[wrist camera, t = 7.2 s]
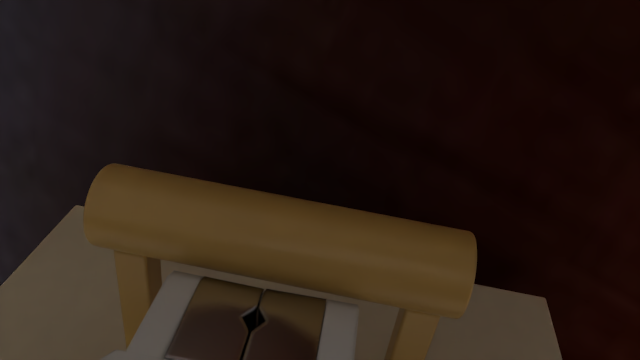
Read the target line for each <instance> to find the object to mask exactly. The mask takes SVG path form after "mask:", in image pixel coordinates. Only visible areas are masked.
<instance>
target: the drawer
mask: <svg viewBox="0 0 640 360" xmlns="http://www.w3.org/2000/svg"><path fill="white" fill-rule="evenodd" d="M476 267H477V245H476V239H475V236H474V234H473V233H472V232H470V231H465V230H460V229H455V228H450V227H445V226H439V225H434V224H429V223H424V222H418V221H413V220H408V219H403V218H398V217H392V216H387V215H382V214H377V213H372V212H366V211H361V210H356V209H351V208H346V207H340V206H335V205H330V204H325V203H319V202H314V201H309V200H304V199H299V198H293V197H288V196H283V195H278V194H273V193H267V192H262V191H257V190H252V189H246V188H241V187H236V186H231V185H226V184H220V183H215V182H210V181H205V180H200V179H194V178H189V177H184V176H179V175H174V174H168V173H163V172H158V171H153V170H147V169H142V168H137V167H132V166H127V165H121V164H116V163H113V164H109V165H107V166H105V167H104V168H103V169H102V170H101V171H100V172H99V173H98V174H97V176H96V177H95V179H94V181H93V182H92V184H91V187H90V189H89V192H88V195H87V198H86V202H85V207H83V206H78V205H76V206H74V207H73V208H72V210H71V211H70V212H69V213H68V214H67V215H66V216H65V217H64V218H63V219H62V220H61V221H60V223H59V224H58V225H57V226H56V227H55V228H54V229H53V230H52V231H51V232H50V233H49V234H48V235H47V237H46V238H45V239H44V240H43V241H42V242H41V243H40V244H39V245H38V246H37V247H36V248H35V250H34V251H33V252H32V253H31V254H30V255H29V256H28V257H27V258H26V259H25V260H24V261H23V263H22V264H21V265H20V266H19V267H18V268H17V269H16V270H15V271H14V272H13V273H12V274H11V276H10V277H9V278H8V279H7V280H6V281H5V282H4V283H3V284H2V285H1V286H0V360H100V359H101V358H103V357H105V356H106V355H108V354H109V353H111V352H113V351H114V350H122V351H126V349H127V348H128V346H129V344H130V342H131V340H132V339H133V337H134V335H135V333H136V331H137V329H138V328H139V326H140V324H141V322H142V320H143V319H144V317H145V315H146V313H147V311H148V310H149V308H150V306H151V304H152V302H153V301H154V299H155V297H156V295H157V293H158V292H159V290H160V288H161V286H162V284H163V283H164V281H165V279H166V277H167V276H168V275H169V274H170V273H172V272H173V271H174V270H175V271H179V272H184V273H189V274H194V275H198V276H203V277H204V276H206V277H211V278H215V279H220V280H225V281H229V282H234V283H239V284H244V285H248V286H253V287H258V288H263V289H264V290H266V289H272V290H277V291H283V292H289V293H295V294H300V295H306V296H312V297H317V298H323V299H326V302H327V299H328V300H334V301H340V302H345V303H351V304H357V305H358V308H359V316H358V326H357V336H356V347H355V357H354V360H562V356H561V353H560V349H559V345H558V342H557V338H556V334H555V331H554V327H553V324H552V320H551V316H550V313H549V309H548V305H547V302H546V299H545V298H543V297H538V296H533V295H528V294H523V293H518V292H513V291H507V290H502V289H497V288H492V287H487V286H482V285H477V284H474V282H475V275H476ZM325 306H326V305H325ZM324 312H325V311H324ZM323 318H324V317H323ZM322 324H323V323H322ZM321 330H322V329H321ZM320 335H321V334H320ZM319 341H320V340H319Z"/></svg>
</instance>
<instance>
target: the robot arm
mask: <svg viewBox="0 0 640 360" xmlns="http://www.w3.org/2000/svg"><path fill="white" fill-rule="evenodd" d="M325 305H326V306H325ZM324 311H325V312H324ZM358 316H359V308H358V305H357V304H351V303H345V302H340V301H334V300H328V299H327V302H326V299H323V298H317V297H312V296H306V295H300V294H295V293H289V292H283V291H277V290H272V289H266V290H264V289H263V288H258V287H253V286H248V285H244V284H239V283H234V282H229V281H225V280H220V279H215V278H211V277H206V276H204V277H203V276H198V275H194V274H189V273H184V272H179V271H175V270H174V271H173V272H172V273H170V274H169V275H168V276H167V277H166V279H165V281H164V283H163V284H162V286H161V288H160V290H159V292H158V293H157V295H156V297H155V299H154V301H153V302H152V304H151V306H150V308H149V310H148V311H147V313H146V315H145V317H144V319H143V320H142V322H141V324H140V326H139V328H138V329H137V331H136V333H135V335H134V337H133V339H132V340H131V342H130V344H129V346H128V348H127V349H126V351H122V350H114V351H113V352H111V353H109V354H108V355H106V356H105V357H103V358H101V359H100V360H354V357H355V347H356V336H357V326H358ZM323 317H324V318H323ZM322 323H323V324H322ZM321 329H322V330H321ZM320 334H321V335H320ZM319 340H320V341H319Z"/></svg>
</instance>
